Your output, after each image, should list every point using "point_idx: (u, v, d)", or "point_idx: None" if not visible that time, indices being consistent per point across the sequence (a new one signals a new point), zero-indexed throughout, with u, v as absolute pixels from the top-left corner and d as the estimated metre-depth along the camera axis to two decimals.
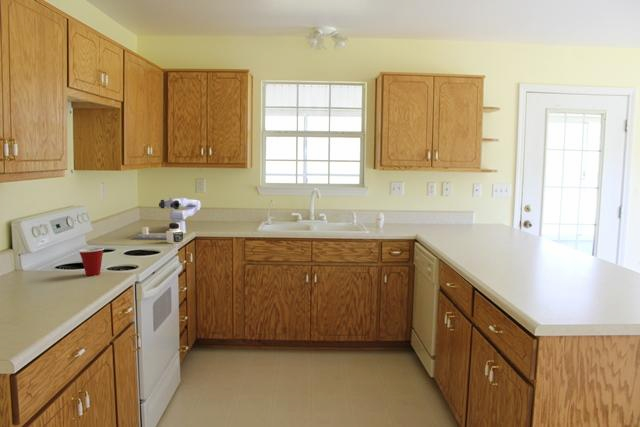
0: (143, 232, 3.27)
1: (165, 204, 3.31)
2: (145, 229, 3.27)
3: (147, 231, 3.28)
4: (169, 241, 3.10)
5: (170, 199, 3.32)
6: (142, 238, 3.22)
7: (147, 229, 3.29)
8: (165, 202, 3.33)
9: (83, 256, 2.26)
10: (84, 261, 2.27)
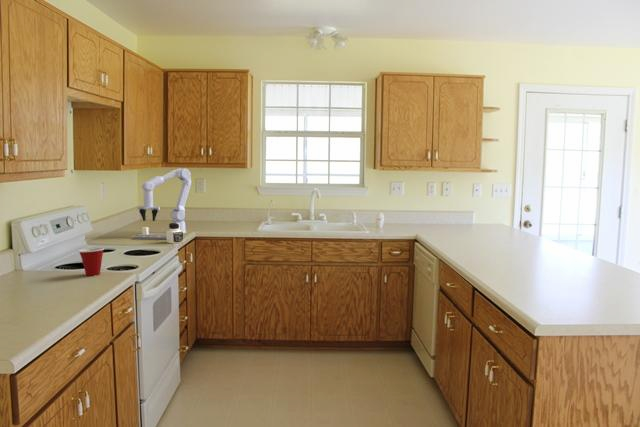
0: (143, 232, 3.27)
1: None
2: (145, 229, 3.27)
3: (147, 231, 3.28)
4: (169, 241, 3.10)
5: None
6: (142, 238, 3.22)
7: (147, 229, 3.29)
8: (142, 208, 3.30)
9: (83, 256, 2.26)
10: (84, 261, 2.27)
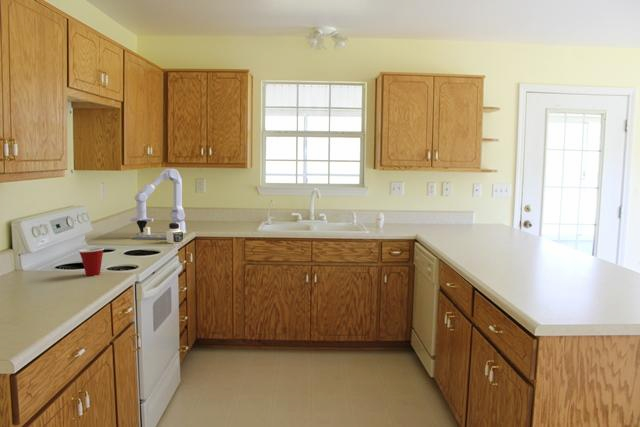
0: (145, 232, 3.27)
1: (137, 220, 3.29)
2: (147, 229, 3.27)
3: (149, 231, 3.28)
4: (169, 241, 3.10)
5: (139, 219, 3.25)
6: (142, 238, 3.22)
7: (149, 229, 3.29)
8: None
9: (83, 256, 2.26)
10: (84, 261, 2.27)
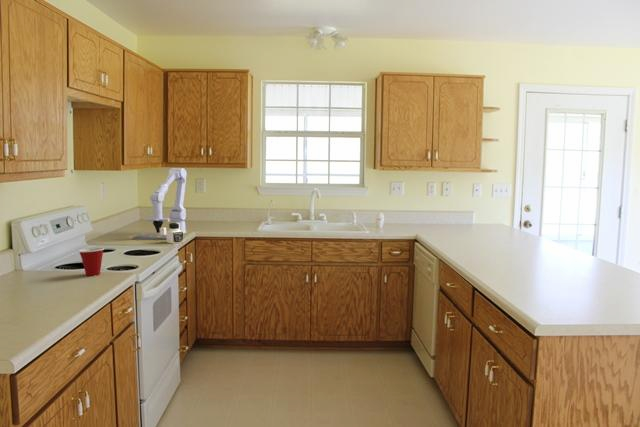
0: (161, 232, 3.26)
1: (153, 221, 3.28)
2: (163, 229, 3.26)
3: (165, 231, 3.27)
4: (169, 241, 3.10)
5: None
6: (142, 238, 3.22)
7: (165, 229, 3.28)
8: (151, 219, 3.26)
9: (83, 256, 2.26)
10: (84, 261, 2.27)
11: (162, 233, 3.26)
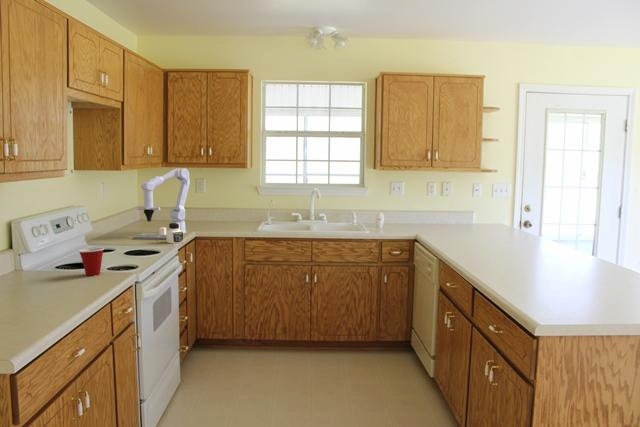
0: (161, 232, 3.26)
1: (144, 209, 3.29)
2: (163, 229, 3.26)
3: (165, 231, 3.27)
4: (169, 241, 3.10)
5: (146, 208, 3.26)
6: (142, 238, 3.22)
7: (165, 229, 3.28)
8: None
9: (83, 256, 2.26)
10: (84, 261, 2.27)
11: (162, 233, 3.26)
